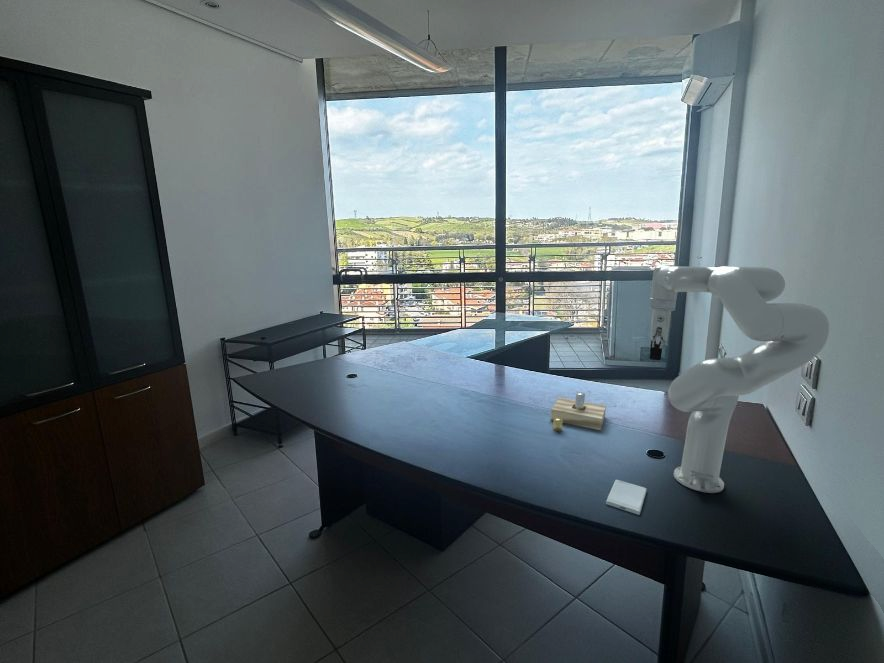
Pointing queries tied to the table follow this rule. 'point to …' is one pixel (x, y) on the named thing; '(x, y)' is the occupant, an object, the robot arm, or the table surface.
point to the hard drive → (626, 496)
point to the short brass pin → (557, 424)
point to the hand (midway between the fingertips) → (655, 356)
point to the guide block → (579, 413)
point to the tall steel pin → (579, 401)
